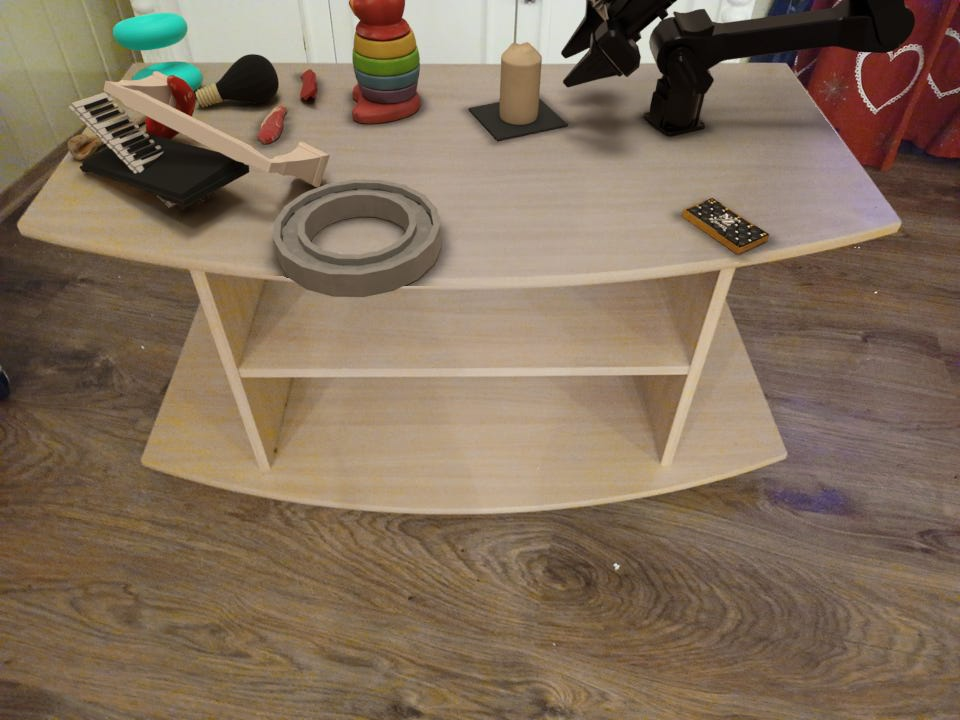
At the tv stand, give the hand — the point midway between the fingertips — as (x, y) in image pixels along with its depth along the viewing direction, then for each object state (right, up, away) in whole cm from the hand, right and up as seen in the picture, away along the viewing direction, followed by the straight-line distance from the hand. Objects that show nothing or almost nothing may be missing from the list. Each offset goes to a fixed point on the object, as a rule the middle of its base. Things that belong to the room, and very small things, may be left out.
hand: (563, 69), depth 100 cm
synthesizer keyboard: (-50, -13, -15) cm, 54 cm away
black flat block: (+15, -25, -15) cm, 33 cm away
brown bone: (-62, -7, 0) cm, 62 cm away
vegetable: (-56, -10, -1) cm, 57 cm away
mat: (-6, -5, +5) cm, 9 cm away
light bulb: (-47, -2, +8) cm, 47 cm away
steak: (-39, -7, +2) cm, 39 cm away
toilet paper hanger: (-45, -14, -11) cm, 48 cm away
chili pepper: (-37, +2, +9) cm, 39 cm away
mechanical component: (-25, -27, -17) cm, 40 cm away
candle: (-6, -5, +5) cm, 9 cm away
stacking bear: (-25, -2, +8) cm, 26 cm away
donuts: (-53, +6, +8) cm, 54 cm away
